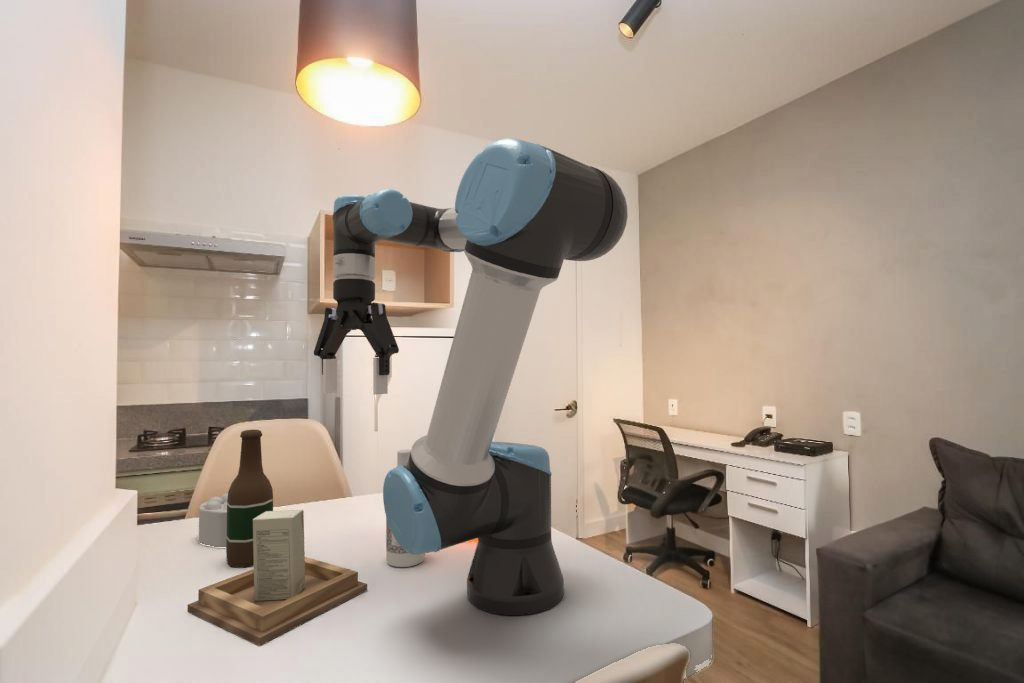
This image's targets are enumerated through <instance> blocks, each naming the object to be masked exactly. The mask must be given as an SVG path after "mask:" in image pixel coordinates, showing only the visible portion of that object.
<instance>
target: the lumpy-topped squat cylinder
mask: <svg viewBox="0 0 1024 683" xmlns="http://www.w3.org/2000/svg"><path fill="white" fill-rule="evenodd" d="M227 498H228V492H227V493H224V494H222V495H221V496H220V497H219V496H212V497H210V498H209V499H208V501H205V502H203V503H201V504H200V505H199V507H198V543H199V542H200V543H202V544H205V545H210V546H214V547H226V539H227Z"/></svg>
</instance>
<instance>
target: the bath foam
mask: <svg viewBox="0 0 1024 683" xmlns="http://www.w3.org/2000/svg"><path fill="white" fill-rule="evenodd" d="M396 452H397V458H396V460H397V461H396V462H397V464H396V467H397V466H406V465H407V463H408V460H409V456H410V452H411V449H400V450H398V451H396ZM385 521H386V522H385V525H386V526H385V527H386V528H385V532H386V533H385V537H386V541H385V546H386V550H385V551H386V554H385V555H386V556H385V557H386V558H385V559H386V562H387V564H388V565H390V566H391V567H396V568H409V567H413V566H416V565H419V564H421V563H423V561H424V560H425V556H426V553H425V554H420V555H415V554H410V553H408V552H406V551H405V550H404V549H403V548H402V547H401V546H400V545H399V544H398V542H397V541H396V539H395V538H394V536H393V534H392V532H391V529H390V527H389V524H388V521H387V517H386V516H385Z"/></svg>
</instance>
